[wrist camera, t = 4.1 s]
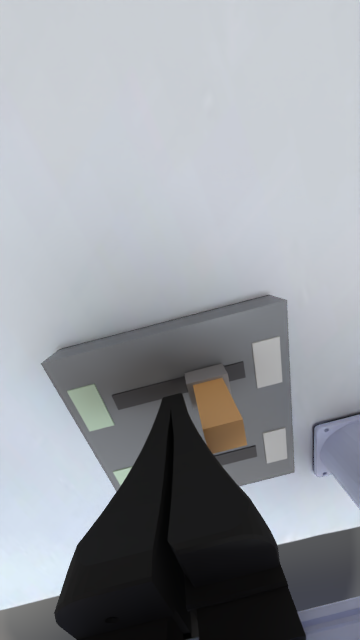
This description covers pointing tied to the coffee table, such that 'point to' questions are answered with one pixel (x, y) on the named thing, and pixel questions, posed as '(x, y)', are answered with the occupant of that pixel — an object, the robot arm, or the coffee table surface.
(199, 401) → the orange lever
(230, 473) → the slider lever panel
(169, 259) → the coffee table surface
